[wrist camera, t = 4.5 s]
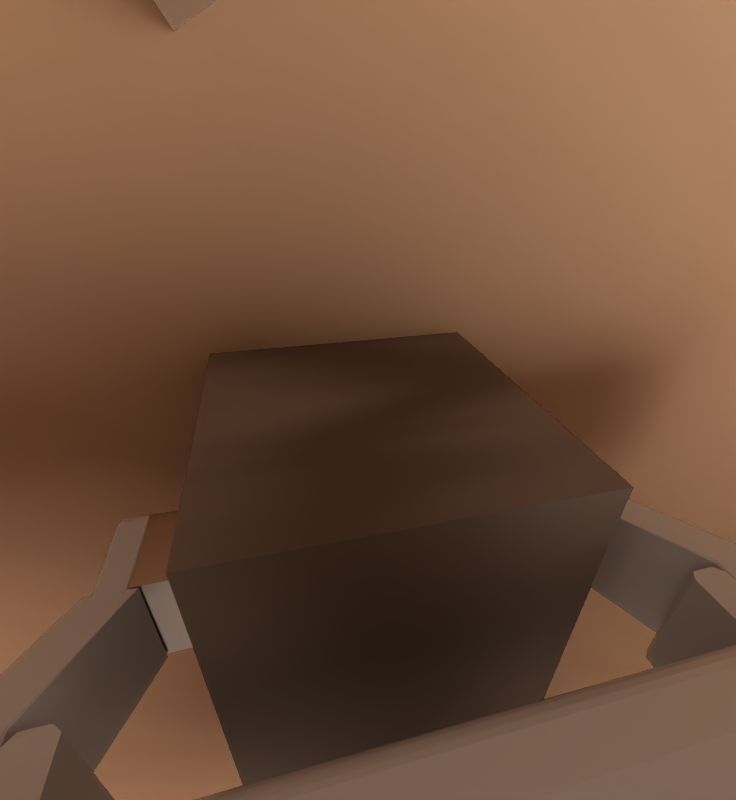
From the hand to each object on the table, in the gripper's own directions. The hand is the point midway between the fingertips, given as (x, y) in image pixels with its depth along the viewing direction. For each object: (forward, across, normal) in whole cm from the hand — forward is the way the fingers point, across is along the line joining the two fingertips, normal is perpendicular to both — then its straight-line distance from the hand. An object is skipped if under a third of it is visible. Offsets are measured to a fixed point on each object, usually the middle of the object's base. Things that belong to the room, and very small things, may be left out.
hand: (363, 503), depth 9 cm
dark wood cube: (+2, 0, 0) cm, 2 cm away
